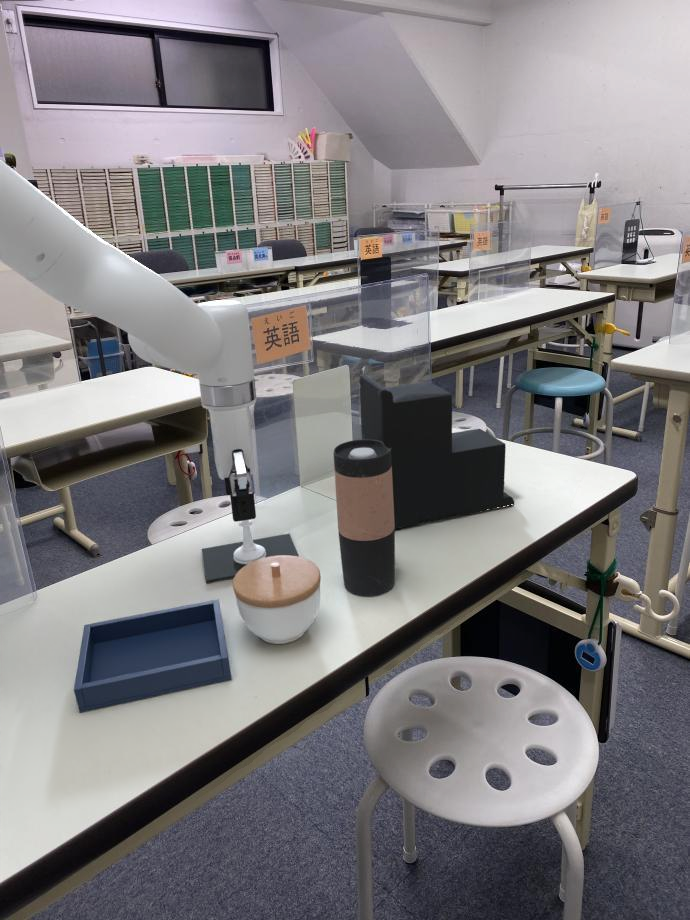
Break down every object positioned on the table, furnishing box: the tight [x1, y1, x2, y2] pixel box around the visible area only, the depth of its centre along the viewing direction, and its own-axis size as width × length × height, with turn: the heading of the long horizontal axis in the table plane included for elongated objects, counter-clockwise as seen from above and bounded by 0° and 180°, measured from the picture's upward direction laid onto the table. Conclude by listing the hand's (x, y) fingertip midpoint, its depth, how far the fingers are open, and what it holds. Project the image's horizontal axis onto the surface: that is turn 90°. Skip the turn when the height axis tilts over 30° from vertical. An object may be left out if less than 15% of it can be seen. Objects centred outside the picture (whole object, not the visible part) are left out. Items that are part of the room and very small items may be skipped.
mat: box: [201, 533, 300, 584], centre depth 104 cm, size 14×10×1 cm
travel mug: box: [333, 439, 396, 597], centre depth 92 cm, size 8×8×20 cm
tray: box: [73, 598, 233, 714], centre depth 81 cm, size 17×13×3 cm
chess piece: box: [234, 519, 266, 564], centre depth 102 cm, size 5×5×10 cm
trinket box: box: [232, 555, 322, 645], centre depth 85 cm, size 11×11×9 cm
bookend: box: [358, 373, 515, 530], centre depth 112 cm, size 23×11×24 cm, turn 108°
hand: (240, 505), depth 100 cm, fingers open, 9 cm apart
